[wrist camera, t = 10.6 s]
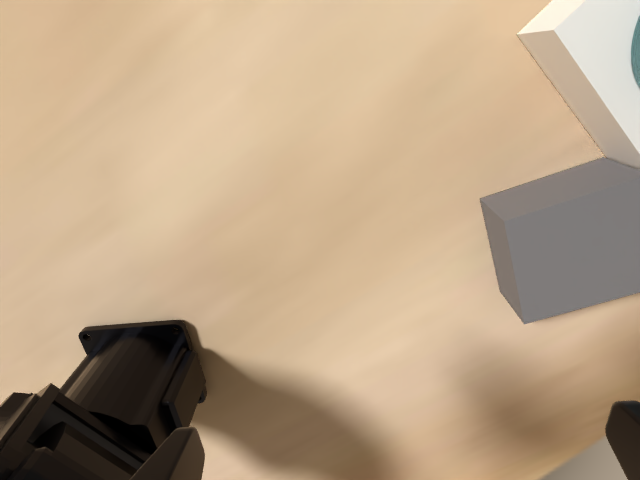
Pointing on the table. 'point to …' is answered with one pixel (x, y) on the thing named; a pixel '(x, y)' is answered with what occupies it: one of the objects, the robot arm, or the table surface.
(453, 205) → the table surface
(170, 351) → the robot arm
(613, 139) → the pale block
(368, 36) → the table surface
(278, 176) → the table surface
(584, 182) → the grey square block
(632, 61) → the canister
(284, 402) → the table surface
